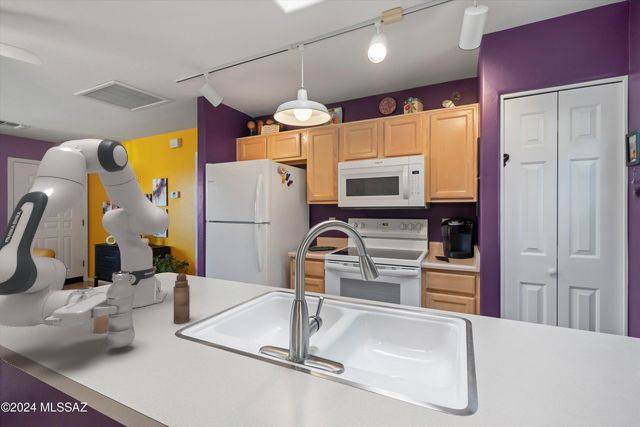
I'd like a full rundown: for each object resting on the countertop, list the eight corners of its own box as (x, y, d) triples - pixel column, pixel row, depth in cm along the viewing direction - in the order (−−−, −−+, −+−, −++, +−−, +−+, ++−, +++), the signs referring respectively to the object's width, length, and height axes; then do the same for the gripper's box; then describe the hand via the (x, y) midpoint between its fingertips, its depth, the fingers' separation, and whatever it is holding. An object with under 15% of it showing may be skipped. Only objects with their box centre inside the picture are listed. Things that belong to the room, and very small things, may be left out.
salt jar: (100, 327, 98) (100, 299, 98) (118, 326, 99) (118, 298, 99) (89, 334, 92) (89, 304, 92) (109, 332, 93) (109, 303, 93)
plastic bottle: (121, 352, 78) (121, 276, 78) (99, 349, 79) (99, 274, 79) (140, 342, 84) (140, 271, 84) (120, 339, 86) (120, 269, 85)
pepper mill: (176, 319, 105) (176, 271, 105) (191, 318, 106) (191, 271, 105) (171, 324, 100) (171, 274, 100) (187, 323, 101) (187, 274, 100)
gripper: (37, 308, 69) (102, 305, 71) (90, 285, 89) (140, 283, 92) (37, 335, 69) (103, 331, 72) (90, 306, 90) (140, 304, 92)
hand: (124, 304), depth 82 cm, fingers closed on plastic bottle, 6 cm apart
